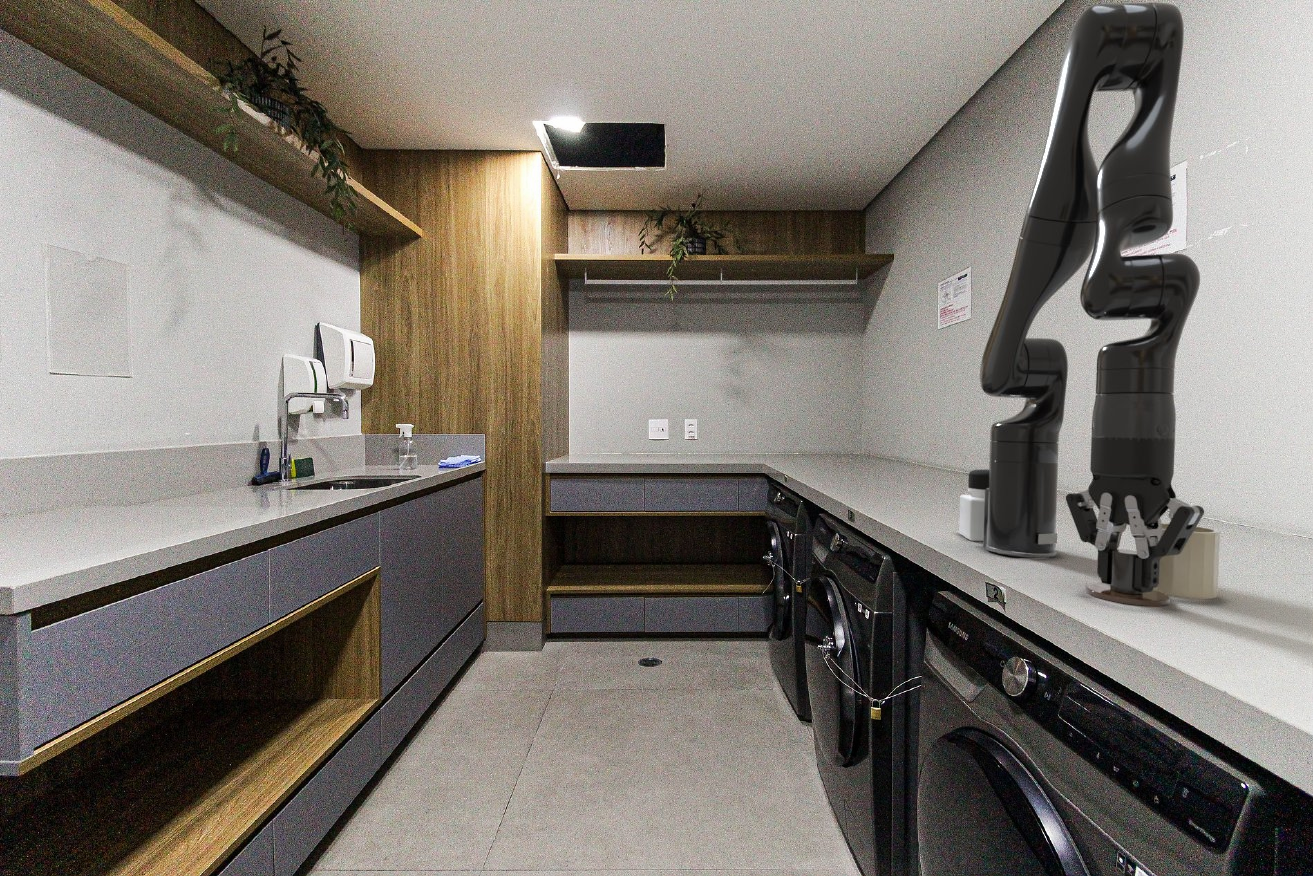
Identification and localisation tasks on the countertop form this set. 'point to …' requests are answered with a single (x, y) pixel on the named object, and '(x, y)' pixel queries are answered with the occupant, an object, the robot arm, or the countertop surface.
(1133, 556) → the lid
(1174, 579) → the canister
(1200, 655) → the countertop surface
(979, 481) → the medicine bottle
